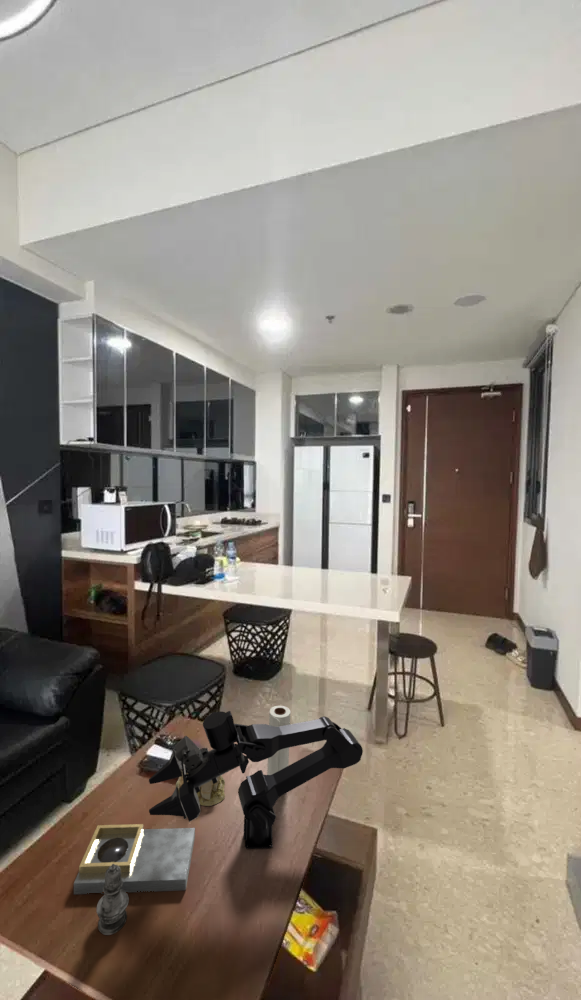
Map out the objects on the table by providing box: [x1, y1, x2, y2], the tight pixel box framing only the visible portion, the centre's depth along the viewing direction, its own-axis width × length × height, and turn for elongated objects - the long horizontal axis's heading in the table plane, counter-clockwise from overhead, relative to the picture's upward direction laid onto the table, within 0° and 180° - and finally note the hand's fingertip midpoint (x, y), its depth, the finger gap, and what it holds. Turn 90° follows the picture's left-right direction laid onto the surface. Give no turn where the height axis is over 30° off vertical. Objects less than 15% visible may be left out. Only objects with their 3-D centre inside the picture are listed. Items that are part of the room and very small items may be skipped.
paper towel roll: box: [266, 705, 292, 775], centre depth 122 cm, size 7×6×21 cm
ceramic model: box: [175, 773, 226, 807], centre depth 119 cm, size 14×11×10 cm
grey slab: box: [73, 823, 196, 895], centre depth 96 cm, size 23×13×4 cm, turn 94°
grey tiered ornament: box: [95, 864, 130, 936], centre depth 84 cm, size 6×6×12 cm
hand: (149, 796), depth 95 cm, fingers open, 9 cm apart
